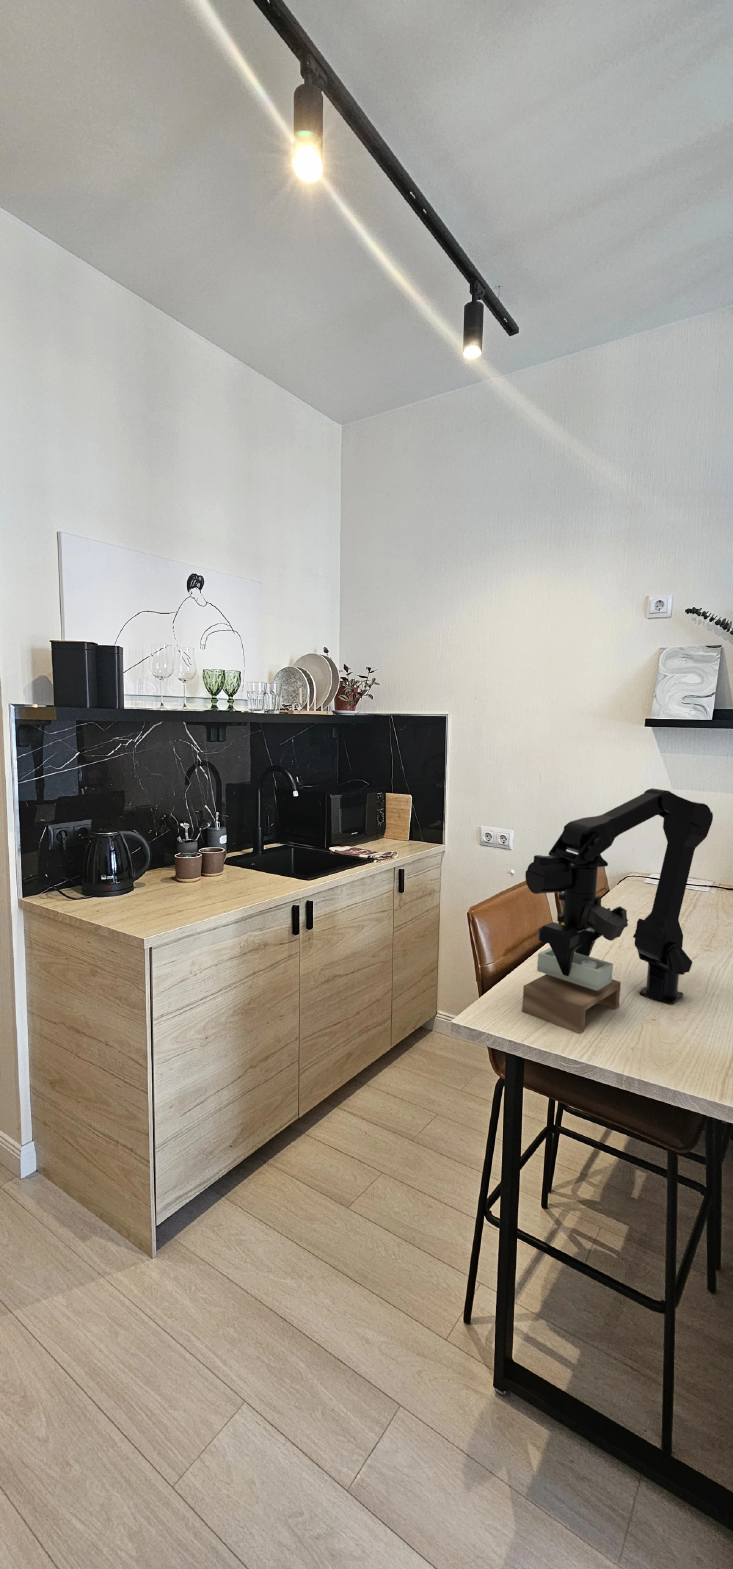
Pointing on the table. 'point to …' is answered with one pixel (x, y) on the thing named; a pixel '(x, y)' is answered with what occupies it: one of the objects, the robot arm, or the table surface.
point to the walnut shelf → (566, 1000)
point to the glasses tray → (578, 969)
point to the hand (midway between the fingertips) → (574, 971)
